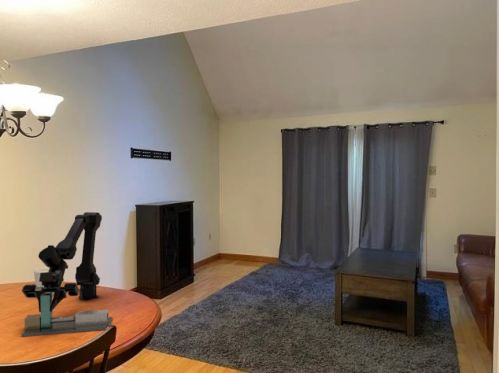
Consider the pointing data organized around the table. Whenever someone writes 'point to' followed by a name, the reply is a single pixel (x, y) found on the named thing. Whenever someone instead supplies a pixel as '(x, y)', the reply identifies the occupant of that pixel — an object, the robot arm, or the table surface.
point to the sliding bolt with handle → (47, 315)
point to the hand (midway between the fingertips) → (45, 311)
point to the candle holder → (37, 276)
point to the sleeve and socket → (69, 323)
